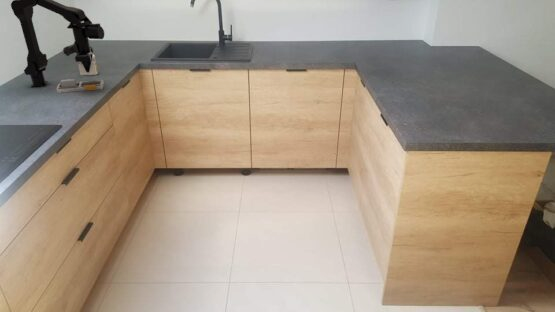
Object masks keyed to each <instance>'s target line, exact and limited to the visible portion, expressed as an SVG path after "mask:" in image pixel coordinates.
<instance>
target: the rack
mask: <svg viewBox="0 0 555 312" xmlns="http://www.w3.org/2000/svg"><path fill="white" fill-rule="evenodd" d="M76 85H77V86H73V87H62V85H61V82H60V83H58V84H57V86H56V93H57V94H60V93H69V92H70V93H71V92H83V91H96V90H103V89H104V80H103V79H99V80H98V79H97V80H86V81H85V80H84V81H76Z"/></svg>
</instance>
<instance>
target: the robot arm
mask: <svg viewBox="0 0 555 312" xmlns="http://www.w3.org/2000/svg"><path fill="white" fill-rule="evenodd" d="M36 6H39V7H42V8H44V9H46V10H49V11H50V12H53V13H55V14H58V15H60V16H61V17H62V18H63V19H64V20H65V21H67V22H68V23H69V24H68V26H67V27H66V29H71V30H72V34H73V39H74V42H73V44H70V45H67V46H64V47H63V49H62V51H63V54H64V55H65V57H69V56H70V55H72V54H76V55H75V57H74V60H75V62H76V63H82V64H83V66H84V68H85V70H86V72H87V73H88V72H89V71H90V65H91V62H92V57H93V53H94V47H92V46H91V45H90V40H103V39H104V37H105V30H104V28H103V27H102V26H101V23H93V22H92V21H91V19H90V18H89V17H88V16H87V15H86V13H85V11H84V10H83V9H81V8H77V7H75V6H67V5H64V4H62V3H60V2H58V1H55V0H12V1H11V3H10V8H11V10H12V12H13V14H14V16H15V17H16V18H17V19H18V20H19V23H20V26H21V30H22V34H23V39H24V41H25V45H26V49H27V56H26V64H27V65H26V67H25V68H24V69H23V72H24V74H25V75H26V76H28V75H29V76H30V80H31V83H32V84H30V87H31V88H35V87H45V86H47V85H48V81H47V80H46V78H45V75H44V73H43V72H44V71H46V69H47V67H48V62H49V61H48V58H47V54H46V53H43V52H42V51H41V50H40V45H39V42H38V38H37V34H36V31H35V26H34V22H33V16H34V7H36ZM90 52H92V54H89V53H90Z"/></svg>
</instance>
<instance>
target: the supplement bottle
mask: <svg viewBox="0 0 555 312" xmlns="http://www.w3.org/2000/svg"><path fill="white" fill-rule="evenodd" d="M89 54H93V53H92V52H90V53H89ZM96 60H97V59H96V56H95V54H93V57H92V62H95V66H96V71H97V74H90V75H87V76H91V77H92V76H97V75H98V73H99V70H98V69H99V68H98V64H97V61H96ZM92 62H91V63H92Z"/></svg>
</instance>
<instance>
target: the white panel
mask: <svg viewBox="0 0 555 312" xmlns="http://www.w3.org/2000/svg"><path fill="white" fill-rule="evenodd" d="M78 70H79V74H80V76H88V75H90V74H96V75H98V74H97V71H96V66H95V62H92V63H91V65H90V71H89V72H88V73H87V72H86V70H85V68H84V66H83V64H82V63H81V62H78Z"/></svg>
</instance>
